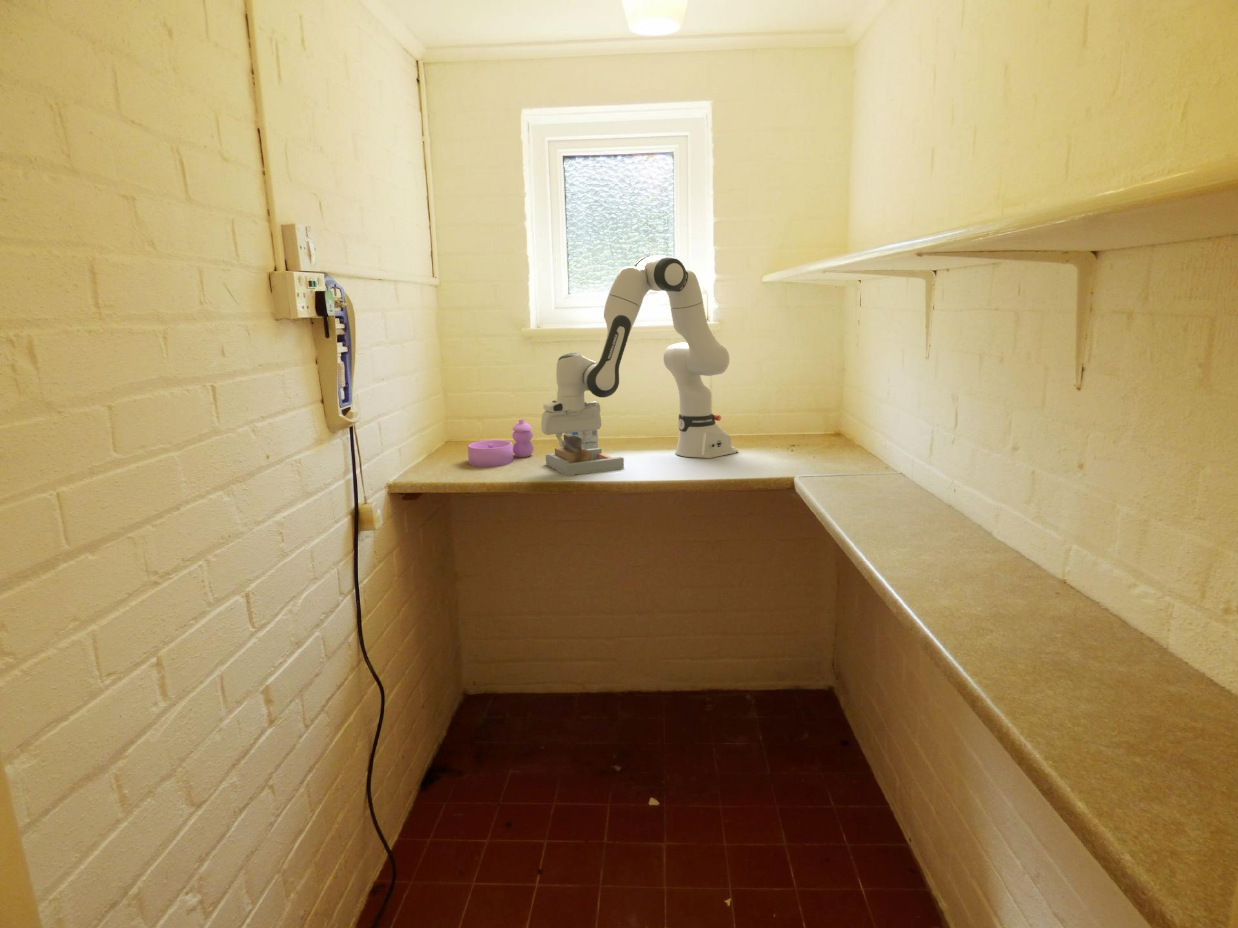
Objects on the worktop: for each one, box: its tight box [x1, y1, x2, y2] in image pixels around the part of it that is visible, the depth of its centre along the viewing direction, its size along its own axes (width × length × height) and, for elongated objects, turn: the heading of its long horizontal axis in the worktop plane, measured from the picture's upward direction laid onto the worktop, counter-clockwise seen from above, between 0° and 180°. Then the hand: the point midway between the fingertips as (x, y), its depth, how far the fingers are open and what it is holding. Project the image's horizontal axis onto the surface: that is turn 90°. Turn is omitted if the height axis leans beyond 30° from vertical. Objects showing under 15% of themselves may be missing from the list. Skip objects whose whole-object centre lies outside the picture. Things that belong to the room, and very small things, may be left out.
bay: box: [545, 447, 625, 477], centre depth 240 cm, size 20×19×4 cm
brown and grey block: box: [554, 433, 592, 463], centre depth 238 cm, size 8×12×10 cm, turn 27°
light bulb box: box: [564, 429, 599, 449], centre depth 258 cm, size 11×7×11 cm, turn 115°
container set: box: [467, 418, 535, 468], centre depth 252 cm, size 25×15×13 cm, turn 132°
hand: (572, 445), depth 237 cm, fingers open, 6 cm apart
